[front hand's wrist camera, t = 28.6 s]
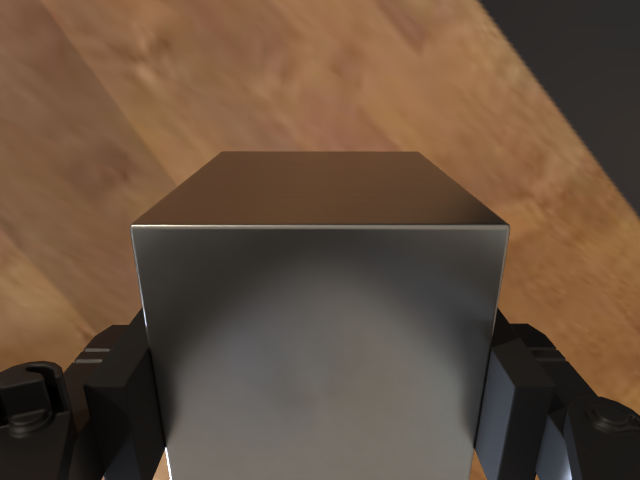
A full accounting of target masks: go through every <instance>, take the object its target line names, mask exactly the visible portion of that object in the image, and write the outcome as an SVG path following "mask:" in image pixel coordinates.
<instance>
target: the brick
mask: <svg viewBox="0 0 640 480" xmlns="http://www.w3.org/2000/svg"><path fill="white" fill-rule="evenodd" d="M130 233H131V239H132V246H133V252H134V258H135V264H136V270H137V276H138V283H139V289H140V295H141V301H142V307H143V314H144V320H145V326H146V332H147V338H148V345H149V351H150V357H151V363H152V369H153V375H154V382H155V388H156V394H157V400H158V406H159V413H160V419H161V425H162V431H163V437H164V443H165V450H166V456H167V462H168V468H169V474H170V480H469V477H470V471H471V465H472V459H473V453H474V447H475V441H476V435H477V429H478V423H479V417H480V411H481V404H482V398H483V392H484V386H485V380H486V374H487V368H488V362H489V356H490V350H491V344H492V338H493V331H494V325H495V319H496V313H497V307H498V301H499V295H500V289H501V283H502V277H503V271H504V264H505V258H506V252H507V246H508V240H509V234H510V225H509V224H508V223H506V222H505V221H504V220H503V219H501V218H500V217H499V216H498V215H496V214H495V213H494V212H493V211H491V210H490V209H489V208H488V207H486V206H485V205H484V204H483V203H481V202H480V201H479V200H478V199H476V198H475V197H474V196H473V195H471V194H470V193H469V192H468V191H466V190H465V189H464V188H463V187H462V186H460V185H459V184H458V183H457V182H455V181H454V180H453V179H452V178H450V177H449V176H448V175H447V174H445V173H444V172H443V171H442V170H440V169H439V168H438V167H437V166H435V165H434V164H433V163H432V162H430V161H429V160H428V159H427V158H425V157H424V156H423V155H422V154H420V153H419V152H241V151H223V152H221V153H219V154H218V155H217V156H216V157H214V158H213V159H212V160H211V161H209V162H208V163H207V164H206V165H204V166H203V167H202V168H201V169H199V170H198V171H197V172H196V173H194V174H193V175H192V176H191V177H189V178H188V179H187V180H186V181H184V182H183V183H182V184H181V185H179V186H178V187H177V188H176V189H174V190H173V191H172V192H171V193H169V194H168V195H167V196H166V197H164V198H163V199H162V200H161V201H159V202H158V203H157V204H156V205H154V206H153V207H152V208H151V209H149V210H148V211H147V212H146V213H145V214H143V215H142V216H141V217H140V218H138V219H137V220H136V221H135V222H133V223H132V224H131V225H130Z"/></svg>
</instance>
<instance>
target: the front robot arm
mask: <svg viewBox="0 0 640 480" xmlns="http://www.w3.org/2000/svg"><path fill="white" fill-rule="evenodd" d="M474 448H475V451H476V453H477V456H478V458H479V460H480V463H481V465H482V468H483V470H484V473H485V475H486V477H487V480H535V477H536V474H537V476H538V478H539V479H540V480H640V416H639V415H638V414H637V413H636V412H634V411H633V410H632V409H630V408H628V407H626V406H624V405H622V404H620V403H618V402H616V401H613V400H610V399H606V398H603V397H598V396H597V395H596V394H595V392H594V391H593V390H592V389H591V388H590V387H589V385H588V384H587V383H586V382H585V381H584V380H583V378H582V377H581V376H580V375H579V374H578V373H577V372H576V370H575V369H574V368H573V367H572V366H571V365H570V363H569V362H568V361H565V358H564V356H563V355H562V354H561V353H560V352H559V351H558V350H556V347H555V346H554V345H553V344H552V342H551V341H550V340H549V339H548V338H547V337H546V335H545V334H543V333H541V332H540V331H538V330H537V329H535V328H534V327H532V326H530V325H529V324H510V323H509V322H508V321H507V319H506V318H505V317H504V316H503V314H502V313H501V312H500V310H499V309H498V308H497V313H496V319H495V325H494V331H493V338H492V344H491V350H490V356H489V362H488V368H487V374H486V380H485V386H484V392H483V398H482V404H481V411H480V417H479V423H478V429H477V435H476V441H475V447H474ZM164 450H165V443H164V437H163V431H162V425H161V419H160V413H159V406H158V400H157V394H156V388H155V382H154V375H153V369H152V363H151V357H150V351H149V345H148V338H147V332H146V326H145V320H144V314H143V307H142V308H141V310H140V311H139V312H138V314H137V315H136V316H135V318H134V319H133V320H132V322H131V323H130V324H129V325H112V326H110V327H109V328H107V329H106V330H104V331H102V332H101V333H99V334H98V335H96V336H95V337H94V338H93V339H92V340H91V341H90V343H89V344H88V345H87V346H86V347H85V349H84V352H81V353H80V354H79V356H78V357H77V358H76V359H75V362H74V363H72V364H71V365H70V366H69V367H68V368H67V370H66V371H65V372H64V373H63V372H62V368H61V367H60V366H58V365H57V364H56V363H53V362H47V361H37V362H28V363H24V364H21V365H17V366H13V367H11V368H9V369H6V370H4V371H2V372H0V480H101V479H102V477H103V475H104V478H105V480H152V479H153V477H154V474H155V472H156V469H157V467H158V465H159V462H160V460H161V457H162V455H163V452H164Z"/></svg>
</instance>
